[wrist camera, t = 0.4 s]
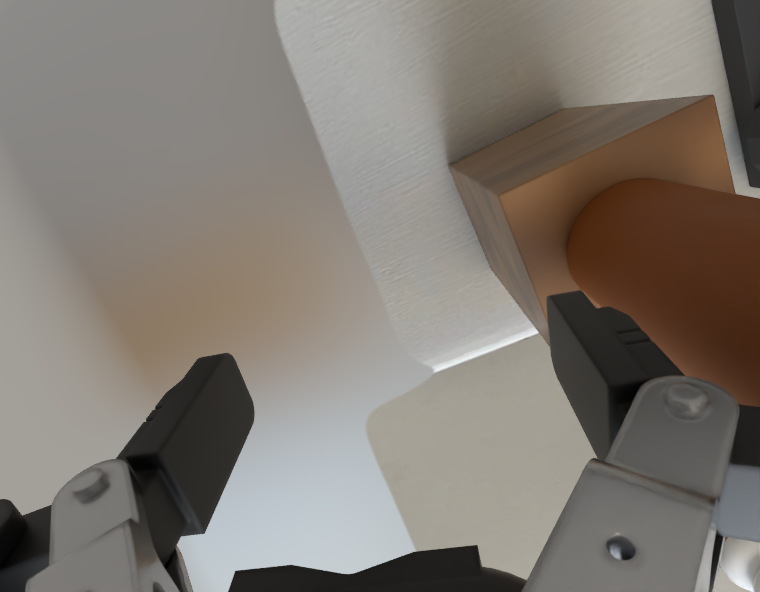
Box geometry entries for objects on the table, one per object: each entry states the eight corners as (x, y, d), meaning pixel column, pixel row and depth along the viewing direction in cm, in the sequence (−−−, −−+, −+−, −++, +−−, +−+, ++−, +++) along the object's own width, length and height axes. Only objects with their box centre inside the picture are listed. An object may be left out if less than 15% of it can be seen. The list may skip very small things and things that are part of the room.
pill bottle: (718, 429, 37) (847, 547, 27) (744, 480, 39) (875, 608, 29) (646, 464, 39) (742, 589, 28) (674, 512, 40) (775, 646, 30)
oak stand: (447, 165, 30) (497, 195, 17) (564, 107, 29) (715, 93, 16) (491, 270, 33) (564, 366, 20) (601, 221, 32) (757, 290, 18)
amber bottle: (548, 214, 17) (742, 316, 8) (681, 153, 17) (1066, 189, 7) (588, 323, 19) (789, 517, 10) (711, 273, 18) (1060, 430, 9)
